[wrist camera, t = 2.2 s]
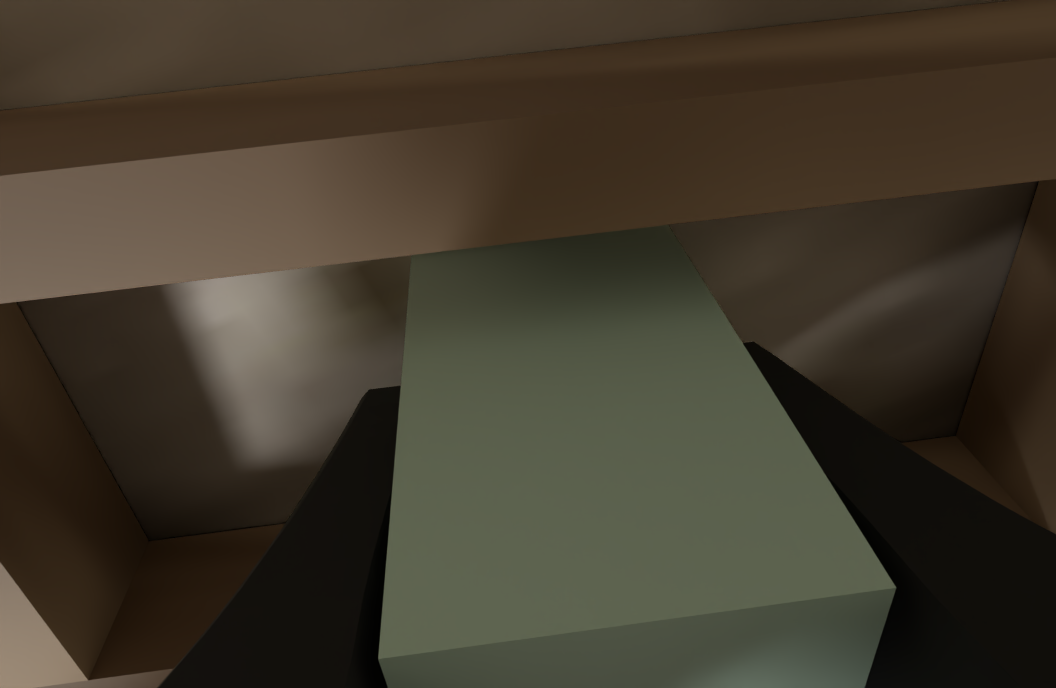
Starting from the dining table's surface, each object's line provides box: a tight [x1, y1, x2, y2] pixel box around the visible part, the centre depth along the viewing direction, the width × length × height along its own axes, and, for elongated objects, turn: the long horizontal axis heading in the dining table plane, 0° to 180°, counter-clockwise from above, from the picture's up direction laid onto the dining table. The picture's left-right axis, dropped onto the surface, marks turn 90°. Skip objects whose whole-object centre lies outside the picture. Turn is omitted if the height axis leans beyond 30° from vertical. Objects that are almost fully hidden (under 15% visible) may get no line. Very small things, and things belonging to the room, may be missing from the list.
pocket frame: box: [0, 0, 1056, 688], centre depth 10 cm, size 8×16×2 cm, turn 95°
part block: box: [378, 225, 896, 688], centre depth 8 cm, size 4×4×6 cm
